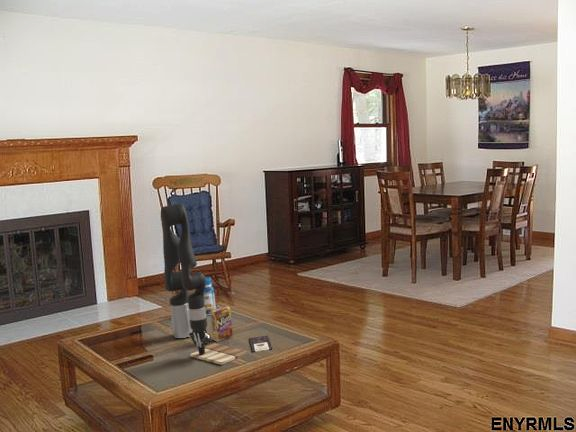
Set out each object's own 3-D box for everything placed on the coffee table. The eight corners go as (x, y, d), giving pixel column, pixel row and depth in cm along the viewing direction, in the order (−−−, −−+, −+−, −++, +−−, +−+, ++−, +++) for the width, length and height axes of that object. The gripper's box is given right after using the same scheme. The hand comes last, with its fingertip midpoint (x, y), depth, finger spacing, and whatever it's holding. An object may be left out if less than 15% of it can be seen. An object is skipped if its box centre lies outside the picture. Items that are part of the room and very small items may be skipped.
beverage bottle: (219, 312, 332) (215, 277, 329) (208, 316, 325) (204, 281, 323) (209, 310, 337) (205, 276, 334) (198, 314, 331) (194, 280, 328)
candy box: (217, 342, 283) (213, 311, 281) (213, 340, 287) (209, 310, 284) (233, 337, 288) (230, 307, 286) (229, 335, 291) (226, 305, 289)
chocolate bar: (267, 335, 284) (272, 348, 267) (268, 337, 284) (272, 350, 267) (249, 338, 283) (252, 351, 266) (249, 340, 283) (252, 353, 266)
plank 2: (206, 360, 260) (206, 358, 260) (219, 354, 266) (219, 352, 266) (221, 365, 254) (221, 362, 253) (235, 358, 260) (235, 356, 259)
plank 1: (190, 356, 268) (190, 353, 267) (204, 350, 273) (203, 348, 273) (205, 360, 261) (204, 357, 261) (218, 354, 267) (218, 351, 267)
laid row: (204, 350, 274) (204, 347, 274) (214, 345, 279) (214, 343, 279) (237, 358, 260) (236, 356, 259) (247, 353, 264) (247, 351, 264)
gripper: (181, 317, 265) (186, 354, 267) (201, 321, 256) (205, 359, 259) (194, 313, 271) (199, 349, 273) (214, 316, 262) (218, 354, 264)
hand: (202, 354), depth 266 cm, fingers closed
